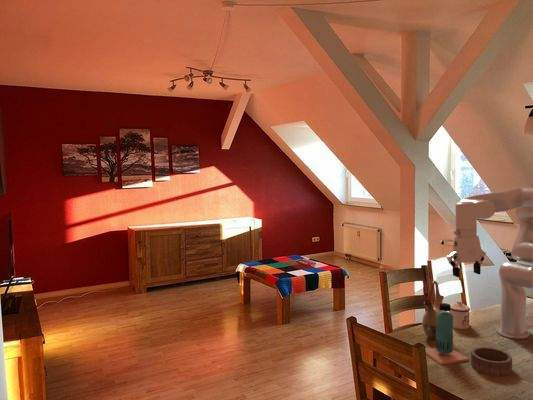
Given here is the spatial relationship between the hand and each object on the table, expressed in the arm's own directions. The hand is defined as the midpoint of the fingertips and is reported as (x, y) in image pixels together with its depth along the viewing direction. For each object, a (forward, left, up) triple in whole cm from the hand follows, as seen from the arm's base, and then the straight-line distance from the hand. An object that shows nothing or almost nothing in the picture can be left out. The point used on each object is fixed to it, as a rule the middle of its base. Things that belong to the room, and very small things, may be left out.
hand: (466, 274), depth 173 cm
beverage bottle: (+12, +4, -30) cm, 32 cm away
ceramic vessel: (+5, -13, -31) cm, 34 cm away
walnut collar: (+2, +17, -30) cm, 35 cm away
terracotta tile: (+12, +4, -30) cm, 33 cm away
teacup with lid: (-15, -22, -31) cm, 41 cm away
